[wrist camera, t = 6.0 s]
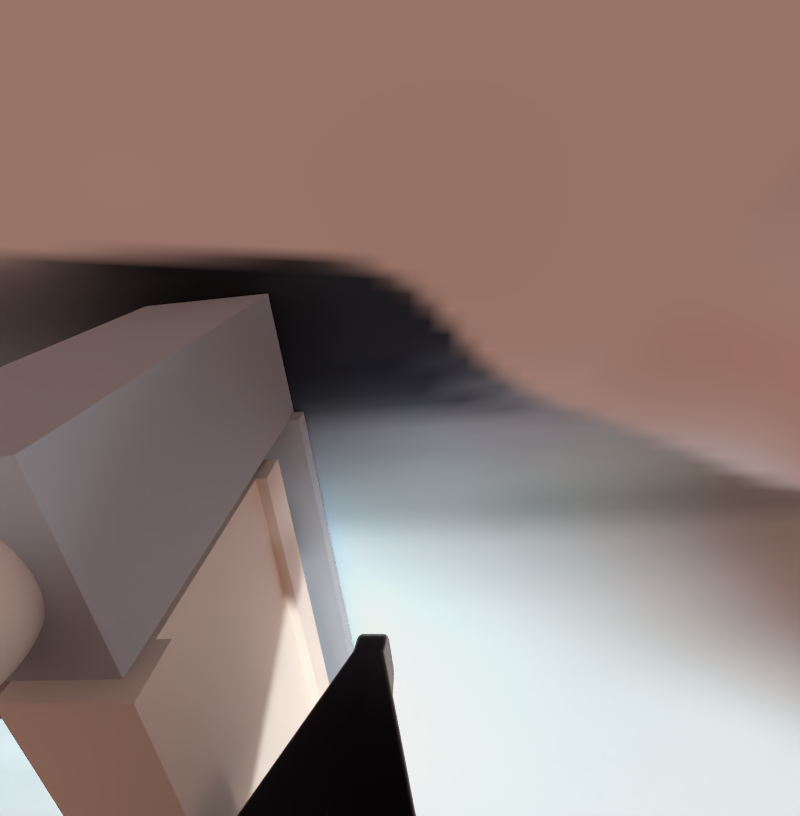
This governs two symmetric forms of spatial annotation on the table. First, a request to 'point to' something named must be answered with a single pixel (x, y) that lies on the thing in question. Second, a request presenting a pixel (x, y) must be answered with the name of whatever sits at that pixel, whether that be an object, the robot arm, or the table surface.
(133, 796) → the gate
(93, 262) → the table surface
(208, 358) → the gate frame
